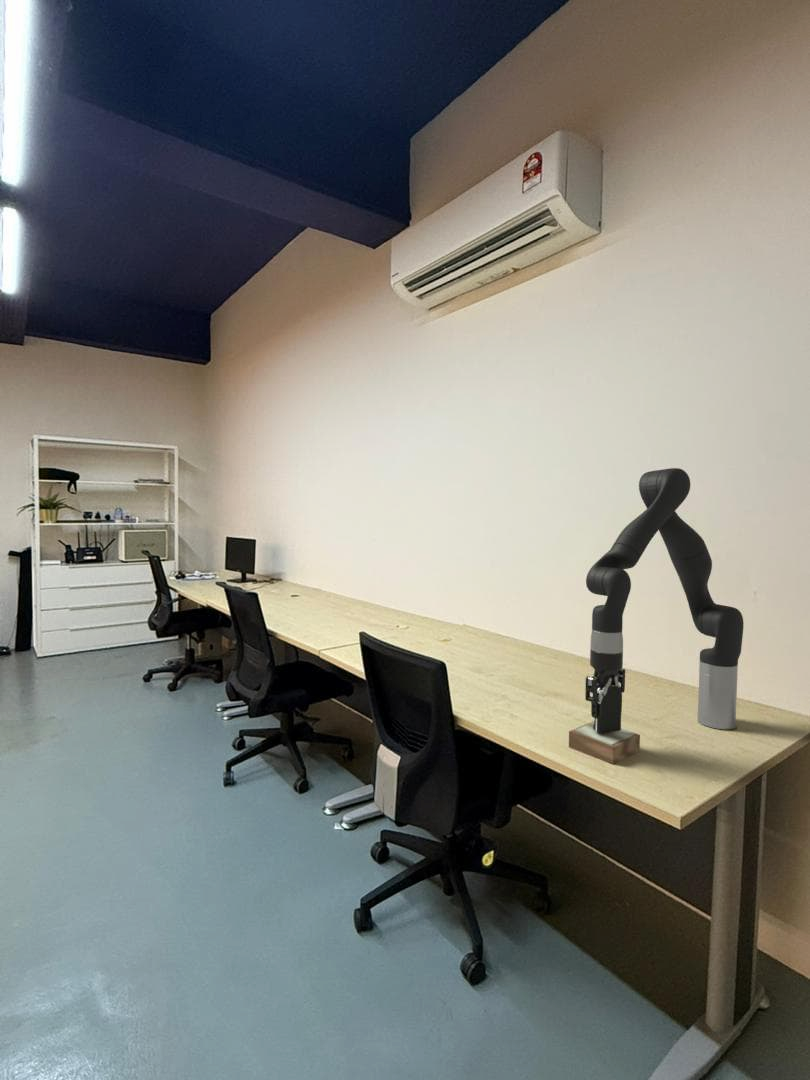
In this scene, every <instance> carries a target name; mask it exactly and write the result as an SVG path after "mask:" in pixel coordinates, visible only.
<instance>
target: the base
mask: <svg viewBox="0 0 810 1080" xmlns="http://www.w3.org/2000/svg"><path fill="white" fill-rule="evenodd" d="M594 721H595V720H594ZM594 721H591V722H588V723H586V724H584V725H581V726H579V727H576V728H574V729H571V730H569V731H568V748H570V749H572V750H575V751H578V752H580V753H583V754H586V755H588V756H591V757H593V758H595V759H598V760H601V761H603V762H606V763H608V764H612V765H614V764H617V763H618V762H621V761H622V760H624V759H627V758H628V757H630V756H632V755H635V753H638V752H640V747H641V746H640V744H641V743H640V742H641V734H639V733H635V732H633V731H630V730H626V729H624V728H621V730H620V731H615V732H607V733H597V732H596V731H595V730H594V729H593V725H594Z"/></svg>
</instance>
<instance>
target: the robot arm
mask: <svg viewBox="0 0 810 1080" xmlns="http://www.w3.org/2000/svg"><path fill="white" fill-rule="evenodd" d="M638 490H639V494H640V497H641V500H642V502H643V503H644V505H645V507H646V509H645V510H644V511H643V512H642V513H641V514H640V515H638V516H636V518H634V519H633V520H632V521H631V522H630V523H628V525H626V526H625V527H624V528H623V529H622V531H621V532H620V533H619V535H618V536H617V538H616V539H615V541H614V543H613V545H611V548H610V549H609V550H608V551H607V552H606V553H604V554H603V555H602V556H601V557H600V558H599V559H598V560H596V562H595V563H594V564H593V565H592V566H591V568H589V571H587V575H586V577H585V584H586V588H587V590H588V591H589V592H590V593H591V594H594V595H597V596H598V595H599V596H603V597H606V601H605V603H604V604H600V605H599V604H598V605H596V606H594V607H593V608H592V611H591V612H592V614H591V615H592V616H591V622H592V623H591V633H590V653H589V657H590V658H589V661H590V662H589V663H590V664H589V665H590V666H591V668H593V669H594V671H593V672H594V673H593V676H589V675H587V676H585V697H584V698H585V701H587V702H590V703H591V704H590V705H591V706H590V707H591V710H590V711H591V717H592V718H594V719H595V718H596V719H600V718H601V701H602V698H603V696H605V695H606V693H607V690H608V687H609V686H610V685H617V686H619V687H620V688H621V690H622V694H623V693H625V691H626V690H625V689H626V688H625V687H626V669H624V668H623V664H624V663H623V662H624V660H623V659H624V635H623V620H624V619H623V617H624V616H623V615H624V612H625V609H626V604H627V602H628V599H629V596H630V593H631V589H632V581H631V577H630V575H629V574H628V572H627V571H626V570H629V569H632V568H634V567H635V566H636V565H637V564H638V562H639V560H640V559H641V557H642V555H643V554H644V552H645V551H646V548H647V547H648V546H649V544H650V542H651V541H652V539H653V538H654V536H655V535H656V534H657V533H658V531H659V534H660V536H661V538H662V542H663V543H664V545H665V547H666V550H667V552H668V555H669V557H670V560H671V563H672V565H673V568H674V569H675V572H676V574H677V576H678V579H679V581H680V584H681V587H682V589H683V591H684V594H685V598H686V600H687V603H688V608H689V611H690V614H691V619H692V621H693V623H694V627H695V628H696V629H697V631H698V632H699V633H700V634H702V635H704V636H708V637H712V638H715V640H714V645H713V646H712V647H711V648H710V647H709V648H704V649H701V650H700V651H699V663H698V664H699V669H698V672H699V673H698V695H697V697H698V699H697V701H698V703H697V722H698V723H700V724H702V725H703V726H705V727H709V728H712V729H719V730H732V729H735V728H736V726H737V725H736V722H737V721H736V720H737V718H736V717H737V696H738V694H737V693H738V669H739V665H738V664H739V658H740V656H741V653H742V645H743V636H744V635H743V634H744V625H745V624H744V617H743V613H742V612H741V611H740V610H739V609H738V608H736V607H734V606H729V605H728V606H727V605H723V604H718V603H715V601H714V599H713V598H712V595H711V593H710V590H709V587H708V583H709V580H710V576H711V574H712V569H713V560H712V557H711V554H710V552H709V549H708V547H707V545H706V542H705V540H704V539H703V537H702V536H701V535H700V534H699V533H698V532H697V531H696V530H695V529H694V528H693V527H691V526H690V525H689V524H688V523H686V522H685V521H684V520H683V519H682V518H681V517H680V516H679V514H678V513H677V512H676V511H677V509H678V508H679V507H680V506H681V505H682V504H683V502H684V501H685V500H686V499H687V497H688V495H689V493H690V490H691V479H690V476H689V475H688V473H687V472H686V470H684V469H682V468H679V467H678V468H677V467H670V468H664V469H656V470H651V471H647V472H645V473H643V474H641V476H640V479H639V481H638ZM597 687H598V688H603V690H597ZM597 693H599V696H598V698H597Z"/></svg>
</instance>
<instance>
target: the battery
mask: <svg viewBox="0 0 810 1080" xmlns="http://www.w3.org/2000/svg"><path fill="white" fill-rule="evenodd" d="M620 687H621V686H620ZM620 687H619V686H617V685H610V686H609V687H608V690H607V693H606V695H605V696H603V698H602V701H601V718H600V719H596V718H594V725H593V729H594V730H595V731H596V732H597V733H607V732H615V731H620V730H621V729H622V710H623V709H622V708H623V693H622V690H621V688H620ZM597 690H603V688H598V687H597ZM598 696H599V693H597V698H598Z"/></svg>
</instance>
